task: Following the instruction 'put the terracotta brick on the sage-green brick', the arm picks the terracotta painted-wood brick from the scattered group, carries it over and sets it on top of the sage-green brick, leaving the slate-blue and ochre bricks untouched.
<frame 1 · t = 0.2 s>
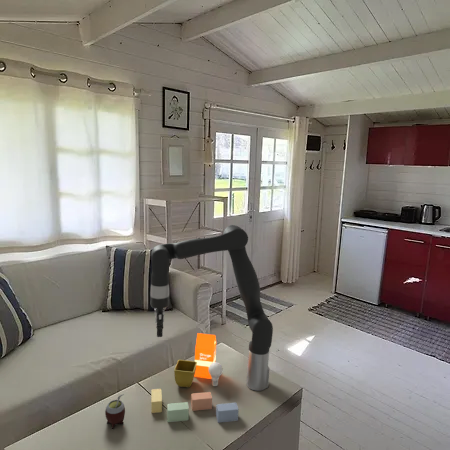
hand: (159, 331, 146), 29 cm above the table, tool pointing down, fingers open, 8 cm apart
terracotta brick: (201, 406, 144), on the table
flower pot: (185, 384, 159), on the table
orange juice: (204, 373, 168), on the table
lightbulb: (214, 385, 159), on the table
ochre brick: (156, 406, 143), on the table
mate gourd: (116, 424, 133), on the table
sage brick: (177, 417, 137), on the table
slate brick: (226, 418, 139), on the table
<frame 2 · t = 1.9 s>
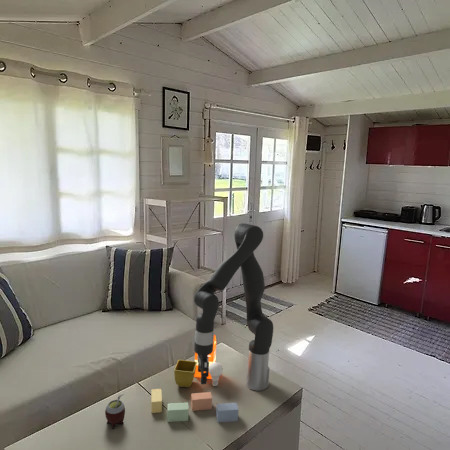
hand: (202, 377, 142), 13 cm above the table, tool pointing down, fingers open, 8 cm apart
nothing on the table moved.
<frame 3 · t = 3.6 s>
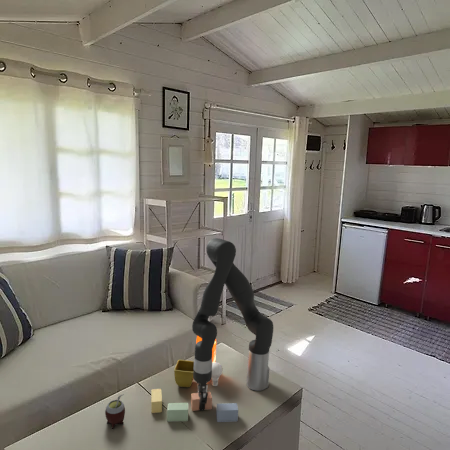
hand: (201, 405, 144), 0 cm above the table, tool pointing down, fingers closed on terracotta brick, 4 cm apart
terracotta brick: (201, 406, 144), on the table, touching gripper
everything else where it was.
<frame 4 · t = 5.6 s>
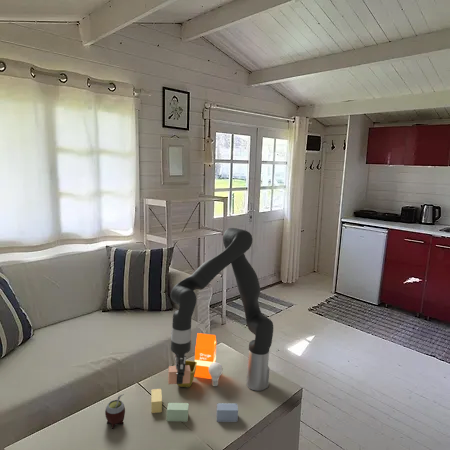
hand: (179, 379, 135), 16 cm above the table, tool pointing down, fingers closed on terracotta brick, 4 cm apart
terracotta brick: (178, 380, 135), point 16 cm above the table, touching gripper
everything else where it was.
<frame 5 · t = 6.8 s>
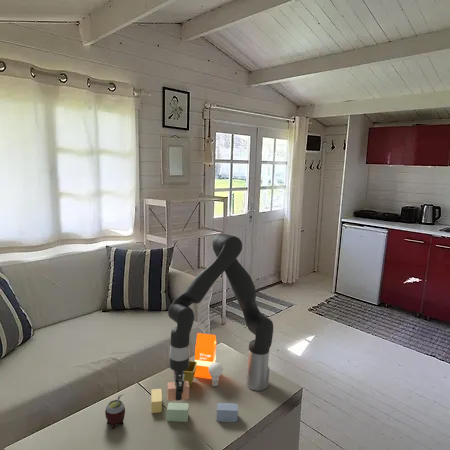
hand: (178, 395, 136), 9 cm above the table, tool pointing down, fingers closed on terracotta brick, 4 cm apart
terracotta brick: (177, 396, 136), point 9 cm above the table, touching gripper
everything else where it was.
when the fingers open (7 cm above the table, at t = 7.6 s): terracotta brick drops 1 cm, resting on sage brick.
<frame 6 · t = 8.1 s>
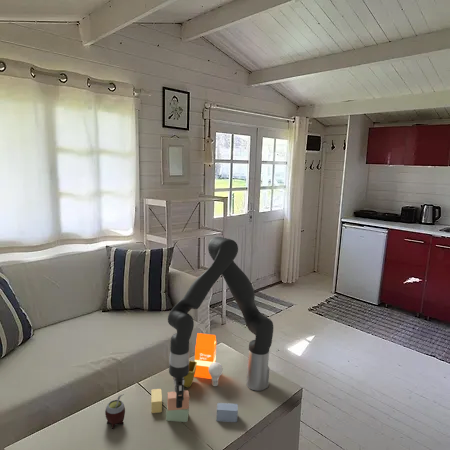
hand: (178, 399, 136), 8 cm above the table, tool pointing down, fingers open, 8 cm apart
terracotta brick: (177, 406, 137), point 5 cm above the table, touching sage brick
sage brick: (177, 417, 137), on the table, touching terracotta brick
everything else where it was.
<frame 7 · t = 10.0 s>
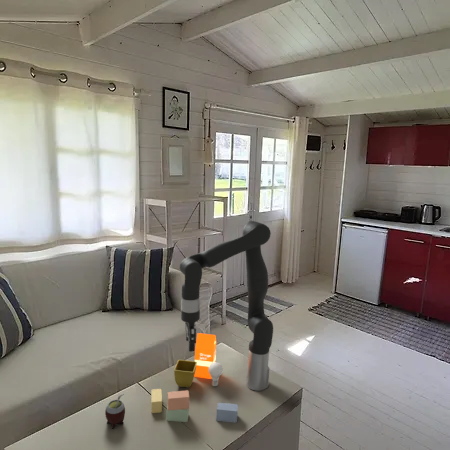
hand: (190, 345, 143), 25 cm above the table, tool pointing down, fingers open, 8 cm apart
nothing on the table moved.
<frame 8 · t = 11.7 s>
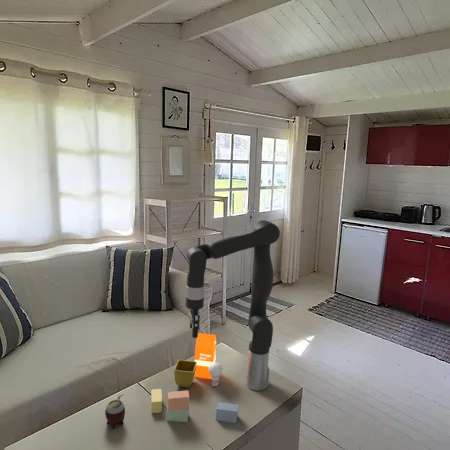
hand: (193, 332, 148), 28 cm above the table, tool pointing down, fingers open, 8 cm apart
nothing on the table moved.
at the end: terracotta brick 0.0 cm off-centre on the sage brick, point 5.0 cm above the sage brick's base; slate brick moved 0.2 cm from its start; ochre brick moved 0.2 cm from its start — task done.
